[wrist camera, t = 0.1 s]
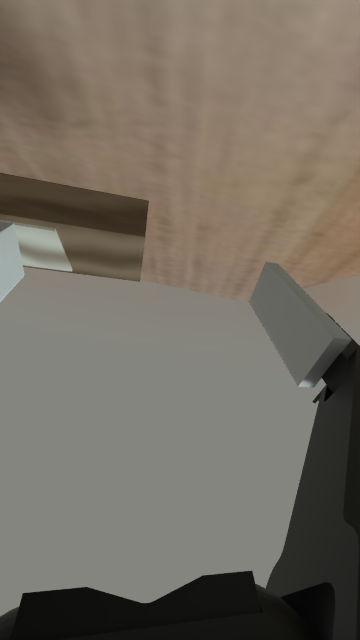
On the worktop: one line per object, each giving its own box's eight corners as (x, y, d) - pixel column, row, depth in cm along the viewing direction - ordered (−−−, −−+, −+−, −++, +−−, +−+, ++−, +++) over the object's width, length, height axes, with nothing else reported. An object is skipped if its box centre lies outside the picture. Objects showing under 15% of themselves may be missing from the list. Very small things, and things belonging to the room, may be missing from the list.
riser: (-48, 164, 25) (-67, 206, 23) (148, 201, 29) (144, 239, 27) (2, 232, 35) (-8, 264, 34) (142, 253, 39) (139, 283, 37)
